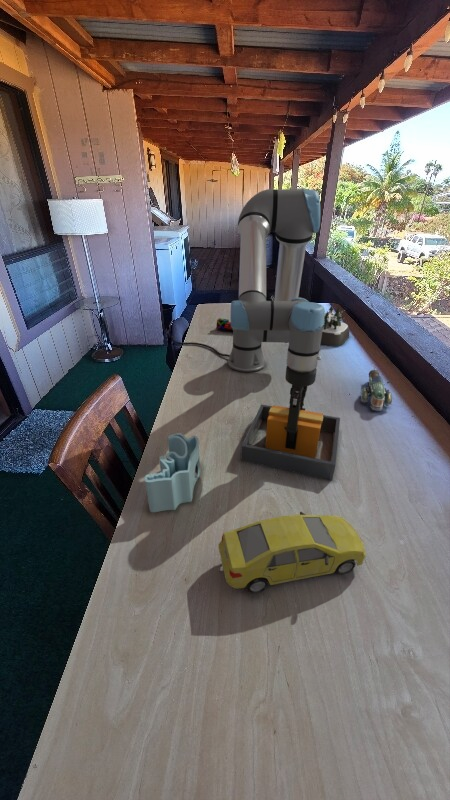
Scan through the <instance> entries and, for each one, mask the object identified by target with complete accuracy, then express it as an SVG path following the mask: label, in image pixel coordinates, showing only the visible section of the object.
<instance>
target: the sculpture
mask: <svg viewBox="0 0 450 800" xmlns="http://www.w3.org/2000/svg"><path fill="white" fill-rule="evenodd" d="M215 329H216V330H219V331H227V330H232V331H233V328H232V327H231V321H230V320H229V319H226V318H221V317H220V318H218V319H217V320H216V328H215Z"/></svg>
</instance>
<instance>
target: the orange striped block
mask: <svg viewBox="0 0 450 800" xmlns="http://www.w3.org/2000/svg"><path fill="white" fill-rule="evenodd" d="M272 406H273V407H271V408H270V410H269V417H268V419H267V420H266V433H265V447H264V448H265V449H270V450H275V451H280V452H285V453H290V454H295V455H299V456H304V457H309V458H314V459H317V458H316V457H317V451H318V446H319V439H320V434H321V433H320V432H321V430H320V429H321V423H322V421H323V415H324V413H322V412H315V411H309V410H305V411H304V410H300V414H299V420H298V427H297V429H298V432H297V440H296V448H295V450H294V449H289V448H285V445H286V436H287V432H286V430H285V427H287V423H288V415H289V407H286V406H280V405H276V404H275V405H274V404H273V405H272Z"/></svg>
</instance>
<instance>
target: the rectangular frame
mask: <svg viewBox="0 0 450 800" xmlns="http://www.w3.org/2000/svg"><path fill="white" fill-rule="evenodd" d="M271 407H273V405H266V404H261V405H260V406H259V408H258V411H257V412H256V414H255V416H254V418H253V421H252V423H251V425H250V427H249V430H248V431H247V434H246V435H245V438H244V440H243V442H242V445H241V457H240V458H241V459H240V460H241V461H243V462H247V463H251V464H256V465H261V466H266V467H270V468H275V469H279V470H284V471H289V472H294V473H297V474H302V475H307V476H311V477H315V478H321V479H324V480H329V481H333V479H334V475H335V470H336V464H337V454H338V443H339V433H340V423H341V417H337V416H331V415H325V414H323V421H322V423H321V429H320V431H322V432H328V433H333V436H332V445H331V452H330V460H329V461H328V460H323V459H318V458H312V457H307V456H302V455H297V454H292V453H287V452H282V451H278V450H273V449H268V448H265V447H260V446H257V445H256V446H255V445H253V443H254V441H255V439H256V436H257V434H258V432H259V429H260V427H261V425H262V423H263V421H267V419H268V417H269V410H270V408H271Z"/></svg>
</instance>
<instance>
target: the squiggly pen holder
mask: <svg viewBox="0 0 450 800" xmlns="http://www.w3.org/2000/svg"><path fill="white" fill-rule="evenodd" d="M167 444H168V452H167V453H166V455H165V456H164V455H160V456H159V457H158V459H159V460H158V461H159V467H160V472H157V473H155V472H154V473H153V472H152V474H148V473H147V474H146V475H145V476H144V482H145V489H146V495H147V496H146V497H147V502H148V508H149V512H150V513H158V512H163V511H176V509H177V508H178V507H179V505H180V504H181V505H182V504H183V503H191V502H192V501H193V495H194V488H195V485H196V483H197V481H198V480H199V478H200V474H201V462H200V441H199V437H198V436H196V435H191V436H190V437H188V438H187V437H186V436H185V435H184V434H183V433H181V432H177V433H172V434H169V436H167ZM165 457H166V458H165ZM196 467H197V475H196Z"/></svg>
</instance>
